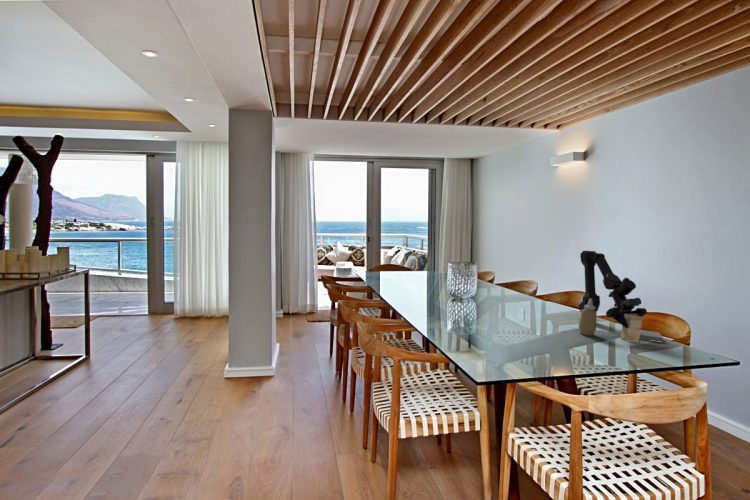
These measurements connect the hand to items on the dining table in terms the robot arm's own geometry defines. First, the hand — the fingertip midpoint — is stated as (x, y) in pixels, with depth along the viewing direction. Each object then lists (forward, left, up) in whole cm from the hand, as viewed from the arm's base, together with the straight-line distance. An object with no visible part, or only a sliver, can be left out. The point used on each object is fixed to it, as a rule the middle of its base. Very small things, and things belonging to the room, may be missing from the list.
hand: (633, 328), depth 215 cm
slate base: (+8, +12, -7) cm, 16 cm away
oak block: (-1, +1, -7) cm, 7 cm away
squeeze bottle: (-20, 0, -7) cm, 21 cm away
